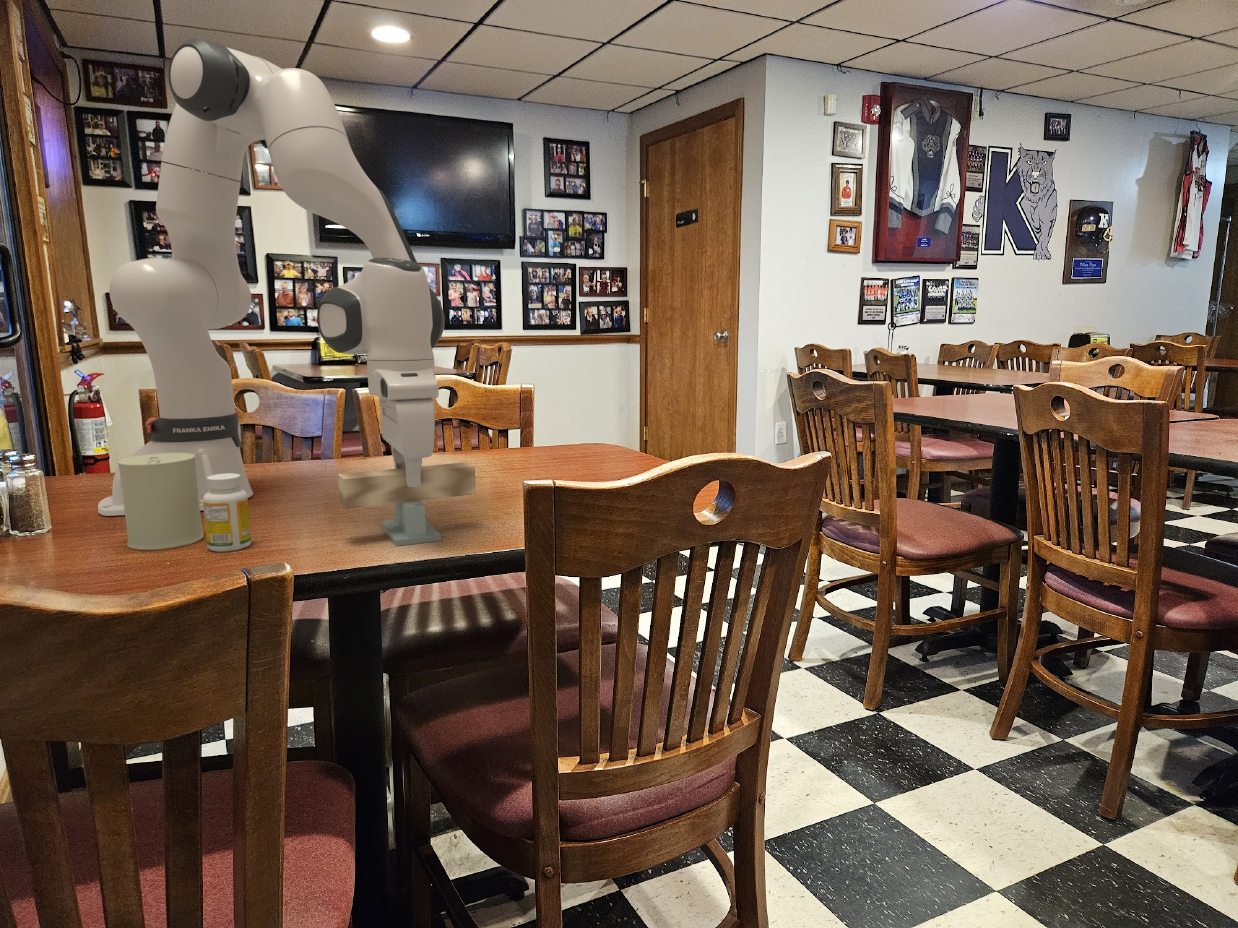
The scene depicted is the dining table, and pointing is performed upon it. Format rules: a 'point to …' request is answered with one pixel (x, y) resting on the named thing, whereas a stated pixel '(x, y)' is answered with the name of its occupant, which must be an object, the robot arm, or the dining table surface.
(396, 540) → the ridge
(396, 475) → the plank
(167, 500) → the can
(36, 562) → the dining table surface
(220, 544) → the supplement bottle
